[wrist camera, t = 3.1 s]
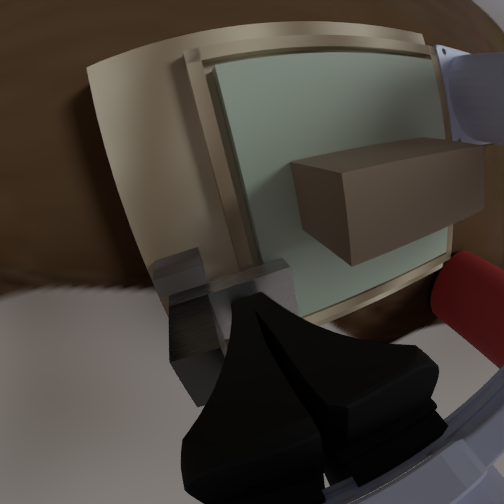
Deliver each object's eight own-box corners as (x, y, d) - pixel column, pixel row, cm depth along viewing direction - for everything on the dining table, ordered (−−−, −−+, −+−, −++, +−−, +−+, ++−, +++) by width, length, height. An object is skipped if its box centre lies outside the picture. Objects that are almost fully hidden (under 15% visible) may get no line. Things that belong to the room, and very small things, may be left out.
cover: (420, 61, 12) (486, 54, 7) (436, 246, 16) (490, 276, 12) (211, 71, 10) (235, 26, 5) (272, 314, 15) (310, 381, 10)
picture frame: (401, 39, 13) (445, 29, 9) (425, 256, 19) (461, 278, 16) (98, 76, 10) (71, 55, 7) (191, 346, 17) (198, 394, 13)
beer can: (462, 298, 23) (543, 359, 12) (421, 323, 22) (508, 403, 11) (473, 240, 21) (571, 295, 10) (431, 259, 20) (547, 335, 9)
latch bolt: (281, 257, 12) (327, 308, 8) (290, 302, 13) (331, 360, 9) (169, 293, 12) (169, 362, 8) (188, 336, 13) (197, 407, 9)
